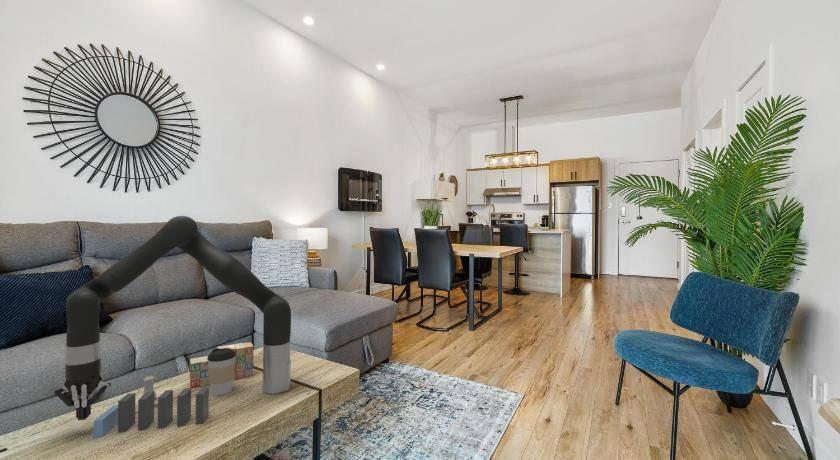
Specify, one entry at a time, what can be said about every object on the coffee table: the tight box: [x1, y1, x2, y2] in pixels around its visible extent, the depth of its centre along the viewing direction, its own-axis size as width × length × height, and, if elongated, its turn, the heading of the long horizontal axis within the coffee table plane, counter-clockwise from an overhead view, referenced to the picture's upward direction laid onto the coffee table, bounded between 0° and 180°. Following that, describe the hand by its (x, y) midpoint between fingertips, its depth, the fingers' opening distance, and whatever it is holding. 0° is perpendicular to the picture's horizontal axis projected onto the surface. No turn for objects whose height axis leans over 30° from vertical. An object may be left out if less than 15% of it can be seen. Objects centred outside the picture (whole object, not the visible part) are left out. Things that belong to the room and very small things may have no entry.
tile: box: [93, 404, 118, 439], centre depth 105 cm, size 2×5×9 cm
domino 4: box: [176, 387, 192, 427], centre depth 109 cm, size 2×5×9 cm, turn 14°
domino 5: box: [195, 386, 210, 425], centre depth 110 cm, size 2×5×9 cm, turn 14°
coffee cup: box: [207, 347, 236, 397], centre depth 129 cm, size 9×9×15 cm
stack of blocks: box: [189, 341, 255, 389], centre depth 139 cm, size 21×6×12 cm, turn 124°
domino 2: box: [137, 390, 155, 431], centre depth 107 cm, size 2×5×9 cm, turn 14°
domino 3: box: [157, 389, 174, 429], centre depth 108 cm, size 2×5×9 cm, turn 14°
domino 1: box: [117, 392, 136, 434], centre depth 105 cm, size 2×5×9 cm, turn 14°
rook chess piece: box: [140, 375, 158, 401], centre depth 122 cm, size 4×4×8 cm
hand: (83, 418), depth 103 cm, fingers closed
